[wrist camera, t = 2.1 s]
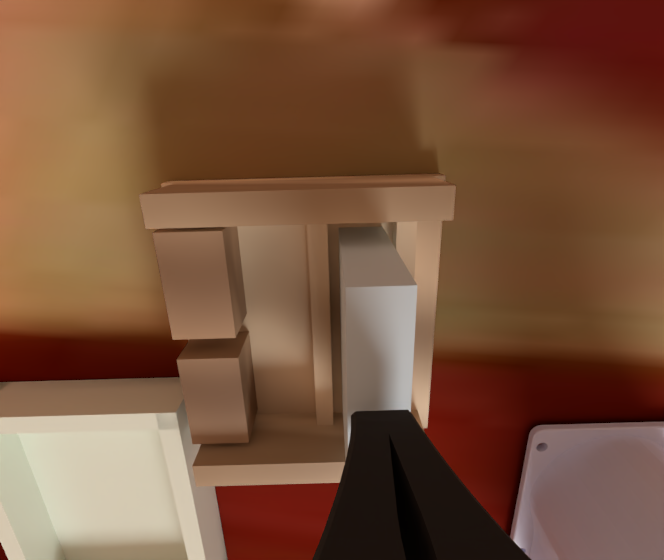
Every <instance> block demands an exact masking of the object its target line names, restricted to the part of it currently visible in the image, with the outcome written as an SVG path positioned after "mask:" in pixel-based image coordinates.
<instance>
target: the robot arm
mask: <svg viewBox="0 0 664 560" xmlns="http://www.w3.org/2000/svg"><path fill="white" fill-rule="evenodd" d="M540 443H542V444H540ZM539 444H540V445H539ZM313 560H664V421H663V422H627V423H592V424H557V425H538V426H536V427H534V428H533V429H532V430H531V431H530V433H529V438H528V443H527V449H526V454H525V459H524V465H523V470H522V475H521V481H520V486H519V491H518V497H517V502H516V507H515V513H514V518H513V523H512V529H511V534H510V537H509V536H508V535H507V533H506V532H505V531H504V530H503V529H502V528H501V527H500V526H499V525H498V524H497V523H496V521H495V520H494V519H493V518H492V517H491V516H490V515H489V513H488V512H487V511H486V510H485V509H484V508H483V507H482V506H481V504H480V503H479V502H478V501H477V500H476V499H475V497H474V496H473V495H472V494H471V493H470V491H469V490H468V489H467V488H466V486H465V485H464V484H463V483H462V481H461V480H460V479H459V478H458V476H457V475H456V474H455V473H454V471H453V470H452V469H451V468H450V466H449V465H448V464H447V463H446V461H445V460H444V459H443V457H442V456H441V455H440V453H439V452H438V451H437V449H436V448H435V446H434V445H433V444H432V442H431V441H430V440H429V438H428V437H427V435H426V434H425V432H424V431H423V429H422V428H421V427H420V425H419V423H418V422H417V420H416V419H415V417H414V416H413V414H412V413H411V412H410V411H409V410H378V411H355V412H354V413H353V414H352V415H351V434H350V441H349V446H348V452H347V457H346V461H345V465H344V468H343V472H342V476H341V480H340V484H339V487H338V491H337V494H336V497H335V500H334V503H333V506H332V509H331V512H330V514H329V517H328V520H327V523H326V526H325V529H324V532H323V534H322V537H321V540H320V542H319V545H318V547H317V550H316V552H315V555H314V557H313Z"/></svg>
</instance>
